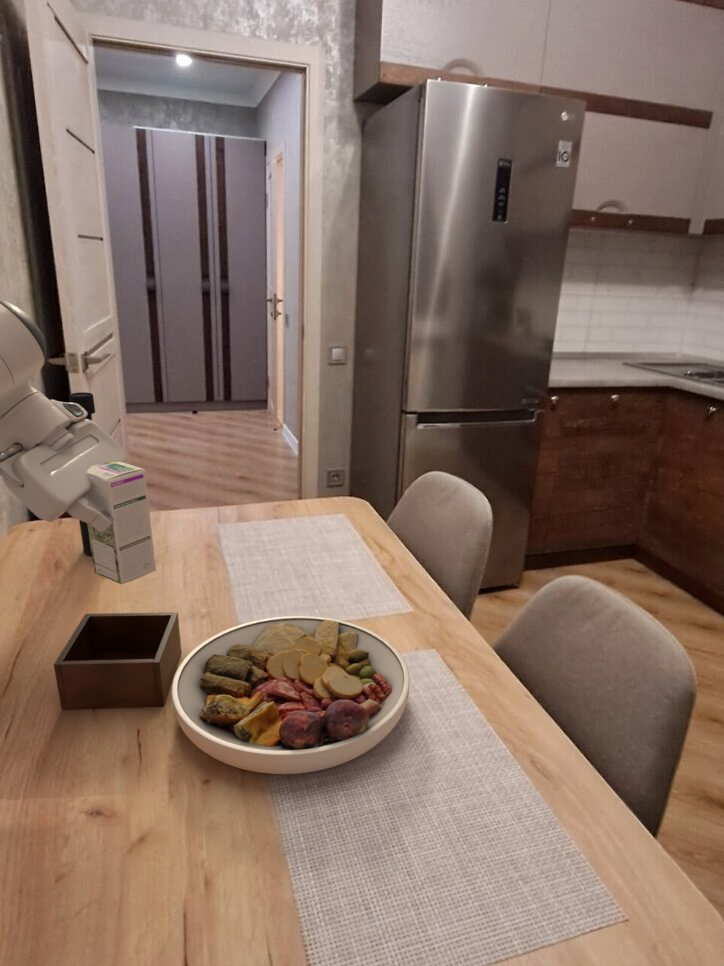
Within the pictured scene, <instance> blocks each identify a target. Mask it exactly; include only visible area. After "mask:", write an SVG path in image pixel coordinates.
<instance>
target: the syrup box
mask: <svg viewBox="0 0 724 966" xmlns="http://www.w3.org/2000/svg"><path fill="white" fill-rule="evenodd" d="M87 476H88V477H89V479H90V480H91V482H92V484H93V487H92V488H91V489H90V490H89V491H87V492H86V493H85V494H84V495H83V496H84V498H85V499H86V500H87V501H88V502H89V504H88V505H89V506H91V507H93V508H95V509H96V510H98V511H100V512H103V511H106V512H107V513H108V514H109V516H111V517H112V518H113V519H114V522H113V523H112V524H111V525H110V526H109V527H108V528H107V529H106V530H105V531H104V532H99V531H98V530H97V529H96V528H95V527H93V526H92V525H91V524H88V523H87V525H88V532H89V539H90V545H91V552H92V556H91V557H92V565H93V570H94V571H93V572H94V574H96V575H99V576H101V577H104V578H105V579H108V580H110V581H113V582H115V583H117V584H118V585H119V584H120V585H125V584H128V583H131V582H133V581H135V580H138V579H140V578H142V577H145V576H147V575H149V574H151V573H153V572H156V570H157V565H156V557H155V549H154V539H153V531H152V522H151V514H150V505H149V496H148V495H149V494H148V485H147V478H146V477H147V476H146V470H145V469H144V468H142V467H139V466H136V465H132V464H129V463H126V462H125V463H122V462H119V461H110V462H105V463H100V464H97V465H93V466H91V467H90V468H89V470H88V471H87Z"/></svg>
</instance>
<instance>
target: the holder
mask: <svg viewBox="0 0 724 966" xmlns="http://www.w3.org/2000/svg"><path fill="white" fill-rule="evenodd" d="M180 632H181V631H180V622H179V613H178V612H116V613H115V612H114V613H112V612H111V613H109V612H108V613H84V615H83V617H82V618H81V620H80V622H79V623H78V625H77V626H76V628H75V630H74V631H73V633H72V634H71V636H70V638H69V639H68V641H67V643H66V644H65V646H64V647H63V649H62V651H61V652H60V654H59V655H58V656H57V658H56V660H55V662H54V664H53V670H54V675H55V680H56V687H57V691H58V697H59V698H58V699H59V703H60V709H61V710H63V711H65V710H91V709H93V710H94V709H96V710H97V709H124V708H125V709H126V708H127V709H128V708H130V709H131V708H154V707H155V708H161V707H165V705H166V701H167V699H168V695H169V693H170V689H171V687H172V682H173V678H174V675H175V673H176V671H177V669H178V666H179V662H180V658H181V655H182V644H181V633H180Z"/></svg>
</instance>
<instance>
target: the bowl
mask: <svg viewBox="0 0 724 966" xmlns="http://www.w3.org/2000/svg"><path fill="white" fill-rule="evenodd" d="M410 678H411V677H410V672H409V668H408V665H407V663H406V661H405V659H404V657H403V656H402V654H401V653H400V652H399V651H398V649H397V648H396V647H395V646H394V645H393V644H392V643H390V642H389V641H388V640H387V639H386V638H384V637H383V636H381V635H379V634H377V632H374V631H372V630H370V629H369V628H366V627H364V626H361V625H358V624H356V623H355V624H354V623H352V622H348V621H344V620H340V619H336V618H330V617H324V616H312V615H286V616H285V615H284V616H275V617H269V618H268V617H267V618H262V619H257V620H251V621H249V622H244V623H242V624H239V625H236V626H233V627H230V628H228V629H225V630H223V631H221V632H219V633H216V634H214V635H213V636H211V637H209V638H207V639H206V640H204V641H203V642H201V643H200V644H199V645H197V646H196V647H194V648H193V649H192V650H191V651H190V652H189V654H187V655H186V656H185V658H183V660H182V661H181V662H180V664H179V665H178V666H177V668H176V671H175V674H174V677H173V680H172V683H171V691H170V693H171V703H172V709H173V712H174V714H175V718H176V720H177V722H178V724H179V726H180V728H181V730H182V732H183V733H184V734H185V735H186V736H187V738H188V739H189V741H191V742H192V743H193V744H194V746H196V747H197V748H199V749H200V750H201V751H203V752H204V753H205V754H207V755H209V756H210V757H211V758H213V759H215V760H217V761H220V762H221V763H224V764H226V765H228V766H232V767H235V768H238V769H241V770H245V771H249V772H255V773H260V774H269V775H270V774H271V775H296V774H297V775H298V774H306V773H313V772H317V771H323V770H327V769H330V768H333V767H337V766H340V765H343V764H345V763H347V762H350V761H352V760H354V759H356V758H358V757H360V756H362V755H364V754H365V753H367V752H368V751H370V750H372V749H373V748H374V747H376V746H377V745H378V744H379V743H380V742H382V741H383V740H384V739H385V738H386V737H387V736H388V735H389V734H390V733H391V732H392V731H393V729H394V728H395V727H396V725H397V724H398V722H400V720H401V718H402V715H403V713H404V711H405V708H406V707H407V703H408V699H409V694H410V681H411V680H410Z"/></svg>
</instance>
